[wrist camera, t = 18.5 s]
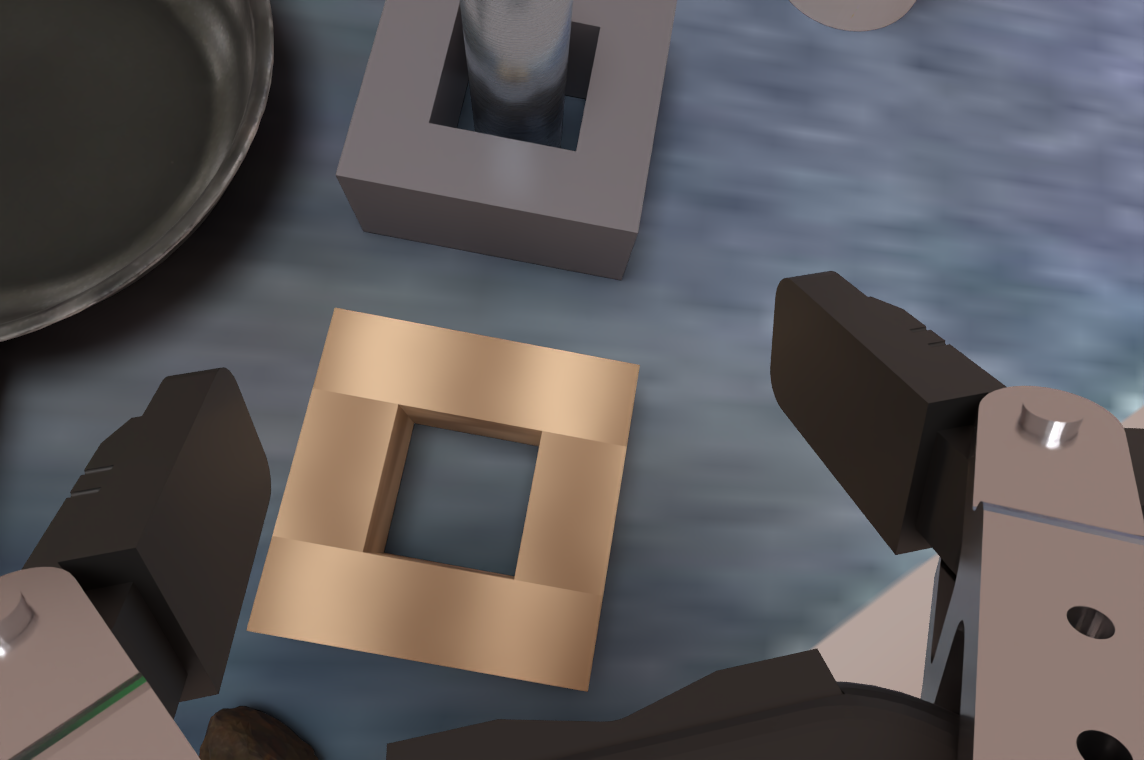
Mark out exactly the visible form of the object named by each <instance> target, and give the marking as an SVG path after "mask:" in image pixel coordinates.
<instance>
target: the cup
mask: <svg viewBox="0 0 1144 760" xmlns="http://www.w3.org/2000/svg"><path fill="white" fill-rule="evenodd" d="M789 1H790V2H791V3H792V4H793V5H794V6H795V7H796V8H797V9H799V10H800V11H801V12H802V13H804V14H805V15H807V16H808V17H810V18H812V19H813V20H815V21H817V22H819V23H821V24H824V25H826V26H829V27H833V28H836V29H841V30H847V31H869V30H875V29H879V28H882V27H885V26H887V25H890V24H892V23H894V22H895V21H897V20H899V19H900V18H901V17H903V16H904V15H905V14H906V13H907V12H908V11H909V10H910V8H911V7H912V6H913V4H914V3H915V2H916V0H789Z"/></svg>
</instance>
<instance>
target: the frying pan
mask: <svg viewBox="0 0 1144 760" xmlns="http://www.w3.org/2000/svg"><path fill="white" fill-rule="evenodd" d="M273 63H274V35H273V20H272V12H271V5H270V0H0V342H2V341H6V340H9V339H13V338H16V337H19V336H22V335H25V334H28V333H31V332H34V331H36V330H39V329H42V328H44V327H46V326H49V325H51V324H53V323H56V322H58V321H60V320H63V319H65V318H67V317H70V316H72V315H75V314H77V313H79V312H81V311H82V310H84V309H87V308H89V307H91V306H93V305H95V304H97V303H99V302H101V301H103V300H105V299H107V298H109V297H111V296H113V295H115V294H116V293H118V292H120V291H121V290H123V289H125V288H126V287H128V286H130V285H131V284H133V283H134V282H136V281H138V280H139V279H141V278H142V277H144V276H145V275H146V274H148V273H149V272H150V271H152V270H153V269H154V268H156V267H157V266H158V265H159V264H161V263H162V262H163V261H164V260H166V259H167V258H168V257H169V256H170V255H171V254H172V253H173V252H174V251H176V250H177V249H178V248H179V247H180V246H181V245H182V244H183V243H184V242H185V241H186V240H187V239H188V238H189V237H190V236H191V235H192V234H193V233H194V232H195V231H196V230H197V229H198V227H199V226H200V225H201V224H202V223H203V221H204V220H205V219H206V218H207V217H208V215H209V214H210V213H211V211H212V210H213V209H214V207H215V206H216V204H217V203H218V201H219V200H220V198H221V197H222V195H223V194H224V192H225V191H226V189H227V187H228V186H229V184H230V183H231V181H232V179H233V177H234V175H235V174H236V172H237V170H238V168H239V167H240V165H241V163H242V161H243V160H244V158H245V156H246V154H247V152H248V150H249V148H250V145H251V143H252V141H253V139H254V137H255V135H256V132H257V130H258V127H259V124H260V121H261V118H262V115H263V113H264V111H265V107H266V103H267V98H268V94H269V90H270V86H271V79H272V69H273Z"/></svg>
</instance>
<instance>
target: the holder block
mask: <svg viewBox="0 0 1144 760" xmlns="http://www.w3.org/2000/svg"><path fill="white" fill-rule="evenodd" d="M676 3H677V0H573V9H572V20H571V32H570V43H569V54H568V66H567V77H566V89H565V95H569V96H574V97H579V98H584V99H586V103H585V109H584V114H583V119H582V124H581V129H580V134H579V139H578V144H577V149H576V151H571V150H566V149H561V148H555V147H550V146H545V145H540V144H535V143H530V142H524V141H519V140H514V139H509V138H504V137H499V136H494V135H488V134H483V133H478V132H473V131H468V130H463V129H458V128H457V124H458V120H459V116H460V112H461V108H462V104H463V100H464V96H465V92H466V88H467V84H468V80H469V76H468V68H467V59H466V51H465V42H464V34H463V25H462V17H461V8H460V0H386V1H385V5H384V8H383V12H382V15H381V19H380V22H379V26H378V29H377V33H376V36H375V40H374V43H373V47H372V50H371V54H370V57H369V60H368V64H367V67H366V71H365V74H364V78H363V81H362V85H361V88H360V92H359V95H358V99H357V102H356V106H355V109H354V113H353V116H352V120H351V123H350V127H349V130H348V134H347V137H346V140H345V144H344V147H343V151H342V154H341V158H340V161H339V165H338V168H337V172H336V177H337V179H338V181H339V183H340V185H341V187H342V189H343V191H344V193H345V195H346V197H347V199H348V201H349V203H350V205H351V207H352V209H353V211H354V213H355V215H356V217H357V219H358V221H359V223H360V225H361V227H362V229H363V231H366V232H371V233H376V234H381V235H387V236H392V237H397V238H402V239H408V240H413V241H418V242H423V243H429V244H434V245H439V246H444V247H450V248H455V249H460V250H465V251H470V252H476V253H481V254H486V255H491V256H497V257H502V258H507V259H512V260H518V261H523V262H528V263H533V264H539V265H544V266H549V267H554V268H560V269H565V270H570V271H575V272H581V273H586V274H591V275H596V276H602V277H607V278H612V279H617V280H622V277H623V274H624V271H625V268H626V265H627V263H628V260H629V257H630V254H631V251H632V248H633V246H634V243H635V240H636V237H637V234H638V230H639V224H640V218H641V212H642V206H643V200H644V194H645V188H646V182H647V176H648V170H649V164H650V158H651V152H652V146H653V140H654V134H655V128H656V122H657V116H658V110H659V104H660V98H661V92H662V86H663V81H664V75H665V69H666V63H667V57H668V51H669V45H670V39H671V33H672V27H673V21H674V15H675V9H676Z"/></svg>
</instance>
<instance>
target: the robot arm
mask: <svg viewBox="0 0 1144 760" xmlns="http://www.w3.org/2000/svg"><path fill="white" fill-rule="evenodd" d="M770 375H771V383H772V388H773V392H774V395H775V398H776V400H777V402H778V404H779V406H780V408H781V409H782V410H783V412H784V413H785V414H786V415H787V417H788V418H789V419H790V421H791V422H792V423H793V424H794V426H795V427H796V428H797V430H798V431H799V432H800V433H801V435H802V436H803V437H804V438H805V440H806V441H807V442H808V444H809V445H810V446H811V447H812V449H813V450H814V451H815V453H816V454H817V455H818V456H819V458H820V459H821V460H822V461H823V463H824V464H825V465H826V467H827V468H828V469H829V470H830V472H831V473H832V474H833V476H834V477H835V478H836V479H837V481H838V482H839V483H840V484H841V486H842V487H843V488H844V490H845V491H846V492H847V493H848V495H849V496H850V497H851V499H852V500H853V501H854V502H855V504H856V505H857V506H858V507H859V509H860V510H861V511H862V513H863V514H864V515H865V516H866V518H867V519H868V520H869V522H870V523H871V524H872V525H873V527H874V528H875V529H876V531H877V532H878V533H879V534H880V536H881V537H882V538H883V539H884V541H885V542H886V543H887V545H888V546H889V547H890V548H891V550H892V551H893V552H894V554H895V555H898V554H903V553H908V552H913V551H917V550H922V549H927V548H933V549H934V550H935V551H936V553H937V554H938V555H939V556H940V558H939V562H938V566H937V569H936V573H935V577H934V587H933V597H932V605H931V614H930V623H929V632H928V642H927V650H926V660H925V669H924V678H923V686H922V693H921V699H919V698H917V697H914V696H911V695H908V694H905V693H902V692H898V691H894V690H890V689H886V688H881V687H878V686H873V685H865V684H858V683H851V682H836V681H835V679H834V677H833V675H832V674H831V672H830V670H829V668H828V667H827V665H826V663H825V661H824V660H823V658H822V656H821V654H820V653H819V651H818V649H813V650H809V651H804V652H800V653H795V654H791V655H786V656H782V657H777V658H773V659H768V660H763V661H759V662H754V663H750V664H745V665H741V666H736V667H732V668H727V669H723V670H718V671H716V672H714V673H712V674H710V675H708V676H706V677H704V678H702V679H700V680H698V681H696V682H694V683H692V684H690V685H688V686H686V687H684V688H682V689H680V690H678V691H676V692H674V693H672V694H670V695H668V696H666V697H665V698H663V699H661V700H659V701H657V702H655V703H653V704H651V705H649V706H647V707H645V708H643V709H641V710H639V711H637V712H635V713H633V714H631V715H629V716H627V717H625V718H622V719H620V720H615V721H608V722H592V721H549V720H506V719H497V720H493V721H488V722H484V723H479V724H475V725H470V726H466V727H461V728H457V729H452V730H448V731H443V732H439V733H434V734H430V735H425V736H421V737H416V738H412V739H407V740H403V741H398V742H394V743H389V744H387V756H386V760H1144V429H1136V428H1134V429H1133V428H1123V426H1122V424H1121V423H1120V422H1119V420H1118V419H1117V418H1116V417H1115V416H1114V415H1113V414H1111V413H1110V412H1109V411H1107V410H1106V409H1105V408H1103V407H1101V406H1100V405H1098V404H1096V403H1094V402H1092V401H1090V400H1088V399H1085V398H1083V397H1080V396H1078V395H1075V394H1072V393H1068V392H1065V391H1061V390H1057V389H1051V388H1046V387H1037V386H1013V387H1006V386H1005V385H1003V384H1002V383H1001V382H999V381H998V380H997V379H995V378H994V377H993V376H991V375H990V374H989V373H987V372H986V371H985V370H983V369H982V368H981V367H979V366H978V365H977V364H975V363H974V362H973V361H971V360H970V359H969V358H967V357H966V356H965V355H963V354H962V353H961V352H959V351H958V350H957V349H955V348H954V347H953V346H951V345H950V344H949V345H946V344H945V340H943V339H942V338H941V337H940V336H938V335H937V334H936V333H934V332H933V331H932V330H926V326H925V325H924V324H922V323H921V322H920V321H918V320H917V319H916V318H914V317H913V316H912V315H910V314H909V313H908V312H906V311H905V310H904V309H901V308H899V307H896V306H894V305H891V304H889V303H886V302H883V301H881V300H878V299H876V298H873V297H867V296H866V295H864V294H863V293H862V292H861V291H859V290H858V289H857V288H856V287H854V286H853V285H852V284H850V283H849V282H848V281H847V280H845V279H844V278H843V277H842V276H840V275H839V274H838V273H836V272H834V271H827V272H821V273H815V274H809V275H802V276H796V277H790V278H784V279H782V280H781V281H780V283H779V285H778V287H777V291H776V297H775V310H774V324H773V338H772V352H771V366H770ZM84 471H85V475H81V476H80V478H79V479H78V481H77V482H76V484H75V486H74V487H73V489H72V490H71V492H70V493H71V497H70V498H66V500H65V501H64V503H63V505H62V506H61V508H60V509H59V511H58V513H57V514H56V516H55V517H54V519H53V520H52V522H51V524H50V525H49V527H48V528H47V530H46V532H45V533H44V535H43V536H42V538H41V540H40V541H39V543H38V544H37V546H36V547H35V549H34V551H33V552H32V554H31V555H30V557H29V559H28V560H27V562H26V563H25V565H24V567H23V568H22V570H19V571H16V572H12V573H9V574H6V575H3V576H1V577H0V760H200V758H199V757H198V755H197V754H196V752H195V751H194V749H193V748H192V746H191V745H190V744H189V742H188V741H187V739H186V738H185V736H184V735H183V733H182V732H181V730H180V729H179V727H178V726H177V725H176V723H175V722H174V717H175V713H176V710H177V707H178V704H179V702H182V701H187V700H192V699H197V698H201V697H206V696H211V695H216V694H219V691H220V687H221V683H222V679H223V675H224V672H225V668H226V664H227V660H228V657H229V653H230V649H231V645H232V641H233V638H234V634H235V630H236V626H237V622H238V619H239V615H240V611H241V607H242V603H243V600H244V596H245V592H246V588H247V584H248V581H249V577H250V573H251V569H252V565H253V562H254V558H255V554H256V550H257V546H258V543H259V539H260V535H261V531H262V527H263V524H264V520H265V516H266V512H267V508H268V505H269V501H270V495H271V478H270V471H269V466H268V462H267V458H266V455H265V452H264V450H263V447H262V445H261V442H260V440H259V437H258V435H257V432H256V430H255V427H254V425H253V422H252V420H251V417H250V415H249V412H248V409H247V407H246V404H245V402H244V399H243V397H242V394H241V392H240V389H239V387H238V384H237V382H236V380H235V378H234V376H233V375H232V373H231V372H230V371H229V370H228V369H226V368H217V369H210V370H204V371H198V372H192V373H186V374H179V375H173V376H168V377H166V378H164V380H163V381H162V383H161V384H160V386H159V388H158V390H157V391H156V393H155V395H154V396H153V398H152V400H151V402H150V403H149V405H148V407H147V409H146V410H145V412H144V414H143V415H142V416H141V417H135V418H131V419H130V420H129V421H127V422H126V423H125V424H124V425H123V426H121V427H120V428H119V429H118V430H117V431H115V432H114V433H113V434H112V435H111V436H109V437H108V438H107V439H106V440H104V441H103V442H102V443H101V444H100V446H99V447H98V449H97V451H96V452H95V454H94V455H93V457H92V459H91V460H90V462H89V463H88V465H87V466H86V468H85V470H84Z"/></svg>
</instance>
